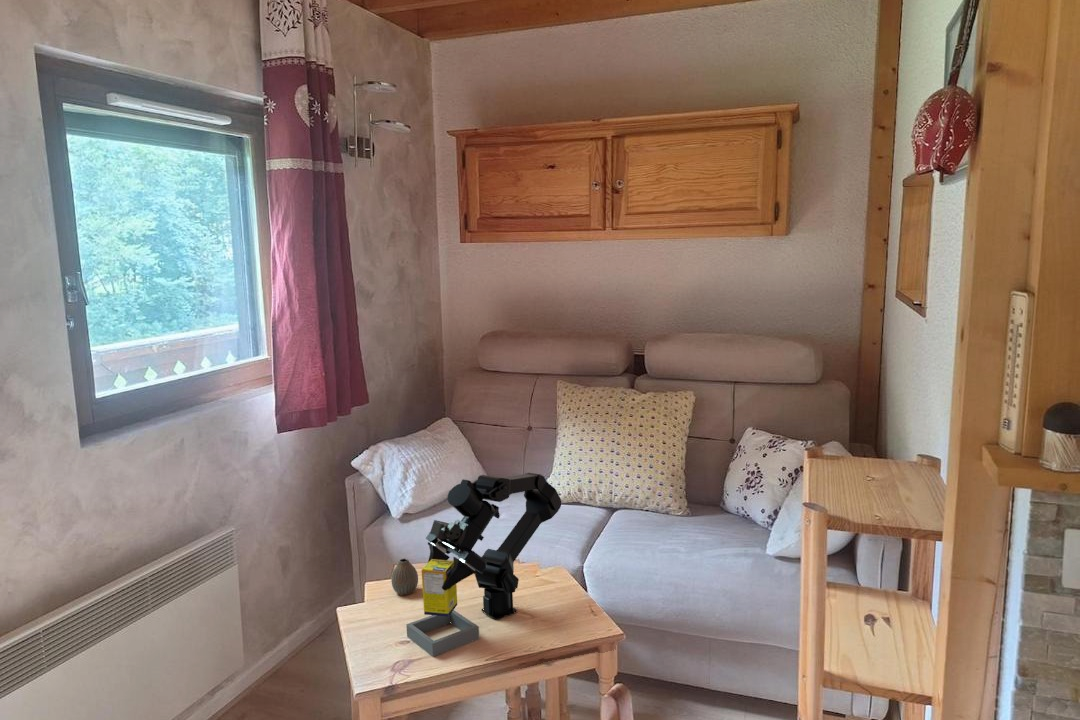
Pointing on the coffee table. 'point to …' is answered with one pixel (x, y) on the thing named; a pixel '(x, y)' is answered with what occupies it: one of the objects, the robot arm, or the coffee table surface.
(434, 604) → the supplement box
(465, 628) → the collar
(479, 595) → the coffee table surface
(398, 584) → the vase
